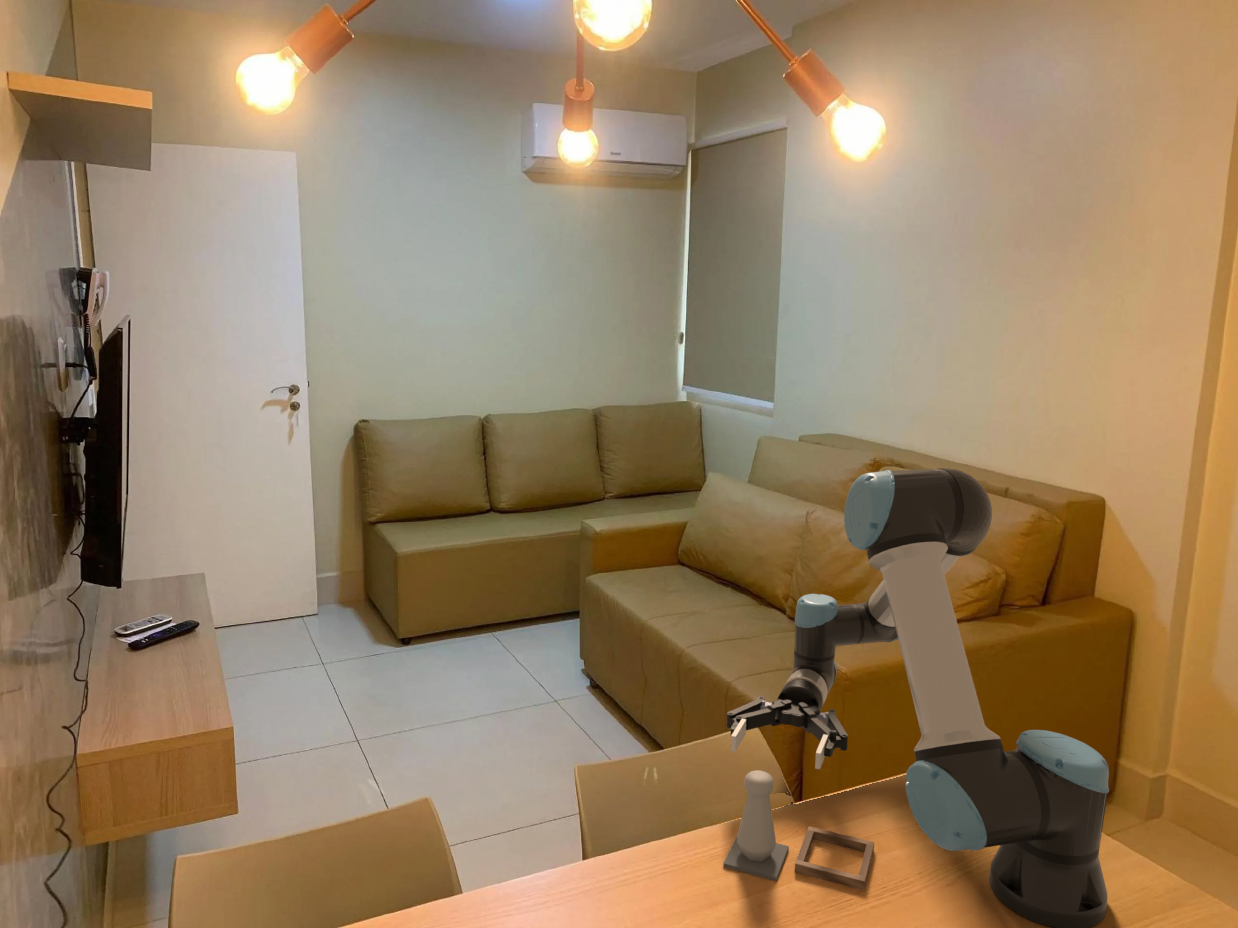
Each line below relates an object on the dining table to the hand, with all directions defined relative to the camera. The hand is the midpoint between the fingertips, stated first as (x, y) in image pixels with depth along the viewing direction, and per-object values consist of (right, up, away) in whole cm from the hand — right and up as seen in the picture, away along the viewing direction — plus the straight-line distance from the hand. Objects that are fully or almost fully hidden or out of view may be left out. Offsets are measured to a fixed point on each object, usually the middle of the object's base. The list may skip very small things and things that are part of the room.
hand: (774, 752), depth 143 cm
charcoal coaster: (-4, -14, -7) cm, 16 cm away
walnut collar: (+8, -14, -8) cm, 18 cm away
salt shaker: (-4, -13, -7) cm, 15 cm away
